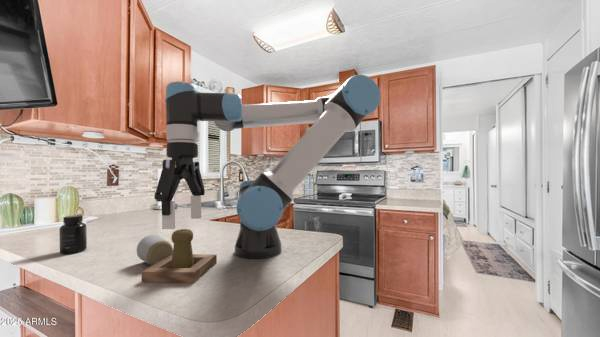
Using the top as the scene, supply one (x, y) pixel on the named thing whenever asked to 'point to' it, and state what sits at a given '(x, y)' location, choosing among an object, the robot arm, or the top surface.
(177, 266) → the olive rounded upright piece
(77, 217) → the supplement bottle
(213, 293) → the top surface
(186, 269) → the socket block
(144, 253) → the ceramic mug
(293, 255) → the top surface
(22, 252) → the top surface
